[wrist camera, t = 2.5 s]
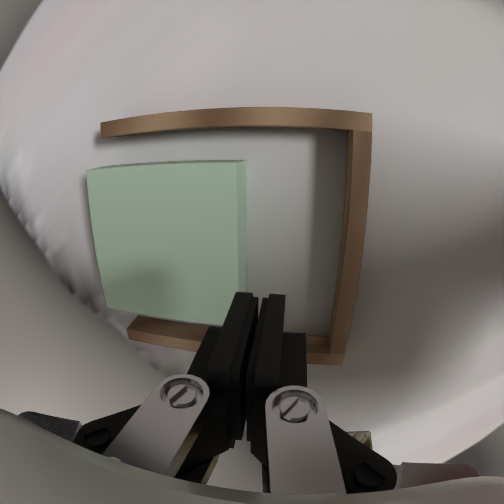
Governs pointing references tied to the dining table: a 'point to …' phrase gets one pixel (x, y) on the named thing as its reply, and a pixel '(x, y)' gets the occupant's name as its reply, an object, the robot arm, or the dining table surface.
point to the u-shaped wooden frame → (353, 220)
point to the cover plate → (170, 236)
